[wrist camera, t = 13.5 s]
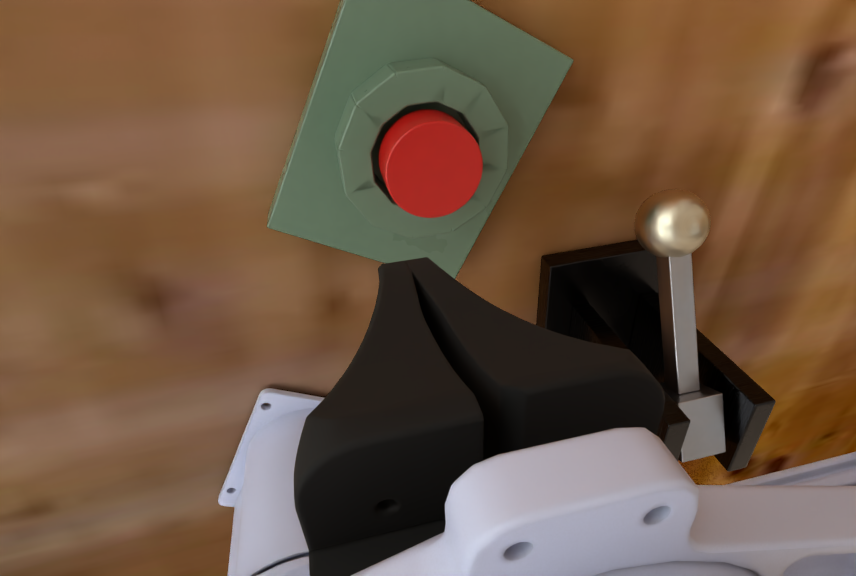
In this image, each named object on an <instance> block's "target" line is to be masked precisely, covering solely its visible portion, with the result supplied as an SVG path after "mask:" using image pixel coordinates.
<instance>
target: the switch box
mask: <svg viewBox="0 0 856 576" xmlns="http://www.w3.org/2000/svg"><path fill="white" fill-rule="evenodd" d="M572 63H573V59H572V58H570V57H568V56H566V55H565V54H563V53H561V52H559V51H558V50H556V49H554V48H552V47H551V46H549V45H547V44H545V43H544V42H542V41H540V40H538V39H537V38H535V37H533V36H531V35H530V34H528V33H526V32H524V31H523V30H521V29H519V28H517V27H516V26H514V25H512V24H510V23H509V22H507V21H505V20H503V19H502V18H500V17H498V16H496V15H495V14H493V13H491V12H489V11H488V10H486V9H484V8H482V7H481V6H479V5H477V4H475V3H474V2H472V1H470V0H340V3H339V6H338V9H337V12H336V15H335V18H334V21H333V24H332V27H331V30H330V33H329V36H328V39H327V42H326V45H325V48H324V50H323V53H322V56H321V59H320V62H319V65H318V68H317V71H316V74H315V77H314V80H313V83H312V86H311V89H310V92H309V95H308V98H307V101H306V104H305V106H304V109H303V112H302V115H301V118H300V121H299V124H298V127H297V130H296V133H295V136H294V139H293V142H292V145H291V148H290V151H289V154H288V157H287V160H286V163H285V165H284V168H283V171H282V174H281V177H280V180H279V183H278V186H277V189H276V192H275V195H274V198H273V201H272V204H271V207H270V210H269V213H268V221H267V227H268V228H270V229H274V230H277V231H280V232H283V233H287V234H290V235H293V236H297V237H300V238H303V239H307V240H310V241H313V242H317V243H320V244H323V245H326V246H330V247H333V248H336V249H340V250H343V251H346V252H350V253H353V254H356V255H359V256H363V257H366V258H369V259H373V260H376V261H379V262H383V263H392V262H398V261H405V260H411V259H418V258H424V257H428V258H429V259H430V260H432V261H433V262H434V263H435V264H437V265H438V266H439V267H440V268H441V269H443V270H444V271H445V272H446V273H448V274H449V275H450V276H451V277H453V278H454V279H455V278H456V276H457V274H458V272H459V270H460V269H461V267H462V265H463V263H464V261H465V259H466V258H467V256H468V254H469V252H470V250H471V248H472V247H473V245H474V243H475V241H476V239H477V237H478V236H479V234H480V232H481V230H482V228H483V226H484V225H485V223H486V221H487V219H488V217H489V215H490V214H491V212H492V210H493V208H494V206H495V204H496V202H497V201H498V199H499V197H500V195H501V193H502V191H503V190H504V188H505V186H506V184H507V182H508V180H509V179H510V177H511V175H512V173H513V171H514V169H515V168H516V166H517V164H518V162H519V160H520V158H521V157H522V155H523V153H524V151H525V149H526V147H527V146H528V144H529V142H530V140H531V138H532V136H533V135H534V133H535V131H536V129H537V127H538V125H539V124H540V122H541V120H542V118H543V116H544V114H545V113H546V111H547V109H548V107H549V105H550V103H551V102H552V100H553V98H554V96H555V94H556V92H557V91H558V89H559V87H560V85H561V83H562V81H563V79H564V78H565V76H566V74H567V72H568V70H569V68H570V67H571V65H572ZM422 109H433V110H438V111H442V112H444V113H447V114H449V115H450V116H452V117H453V118H455V119H456V120H457V121H458V122H459V123H460V124H461V125H462V126H463V127H464V128H465V129H466V130H467V131H468V132H469V133H470V134H471V135H472V136H473V137H474V139H475V140H476V142H477V143H478V145H479V148H480V150H481V154H482V159H483V171H482V177H481V180H480V183H479V185H478V188H477V190H476V191H475V193H474V195H473V196H472V197H471V198H470V200H469V201H468V202H467V203H466V204H465V205H463V206H462V207H461V208H460V209H458V210H456V211H455V212H453V213H451V214H448V215H445V216H442V217H436V218H424V217H418V216H415V215H412V214H410V213H408V212H406V211H404V210H403V209H402V208H401V207H399V206H398V205H397V204H396V203H395V201H394V200H393V199H392V197H391V195H390V193H389V191H388V189H387V187H386V184H385V182H384V180H383V177H382V175H381V172H380V168H379V149H380V145H381V142H382V140H383V138H384V136H385V134H386V132H387V131H388V129H389V128H390V127H391V126H392V124H393V123H395V122H396V121H397V120H398V119H399V118H401V117H402V116H404V115H406V114H408V113H410V112H413V111H417V110H422Z"/></svg>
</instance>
